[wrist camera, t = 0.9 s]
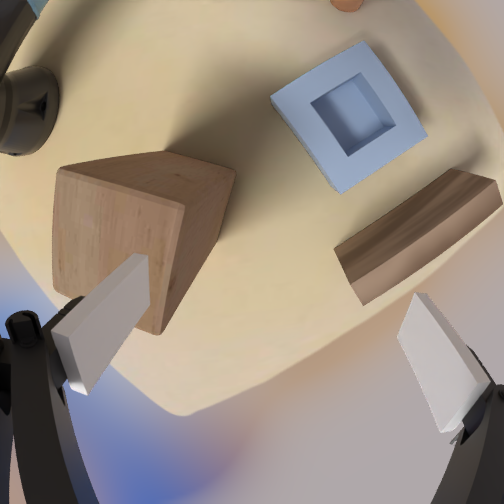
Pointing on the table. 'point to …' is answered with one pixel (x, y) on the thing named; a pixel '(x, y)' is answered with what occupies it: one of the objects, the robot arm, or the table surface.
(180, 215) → the wooden block
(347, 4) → the dowel
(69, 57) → the table surface
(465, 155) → the table surface
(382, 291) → the wall
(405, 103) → the socket block
